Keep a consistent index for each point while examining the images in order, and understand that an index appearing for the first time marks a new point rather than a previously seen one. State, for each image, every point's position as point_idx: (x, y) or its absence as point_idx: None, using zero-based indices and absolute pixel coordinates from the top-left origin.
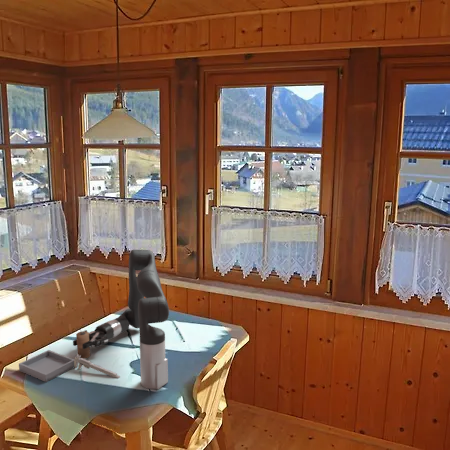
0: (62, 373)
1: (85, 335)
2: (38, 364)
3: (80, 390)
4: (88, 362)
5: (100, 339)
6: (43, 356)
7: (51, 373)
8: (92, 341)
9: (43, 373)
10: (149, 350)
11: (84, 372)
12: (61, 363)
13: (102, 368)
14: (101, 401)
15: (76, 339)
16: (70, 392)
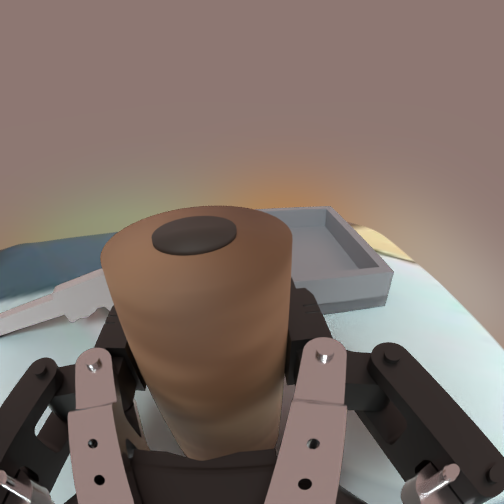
0: None
1: (121, 235)
2: (313, 249)
3: (62, 261)
4: (59, 285)
5: (7, 414)
6: (363, 265)
7: None
8: (84, 360)
9: None
10: None
11: (93, 315)
12: None
13: (7, 313)
14: (6, 261)
15: (295, 299)
16: (84, 248)
